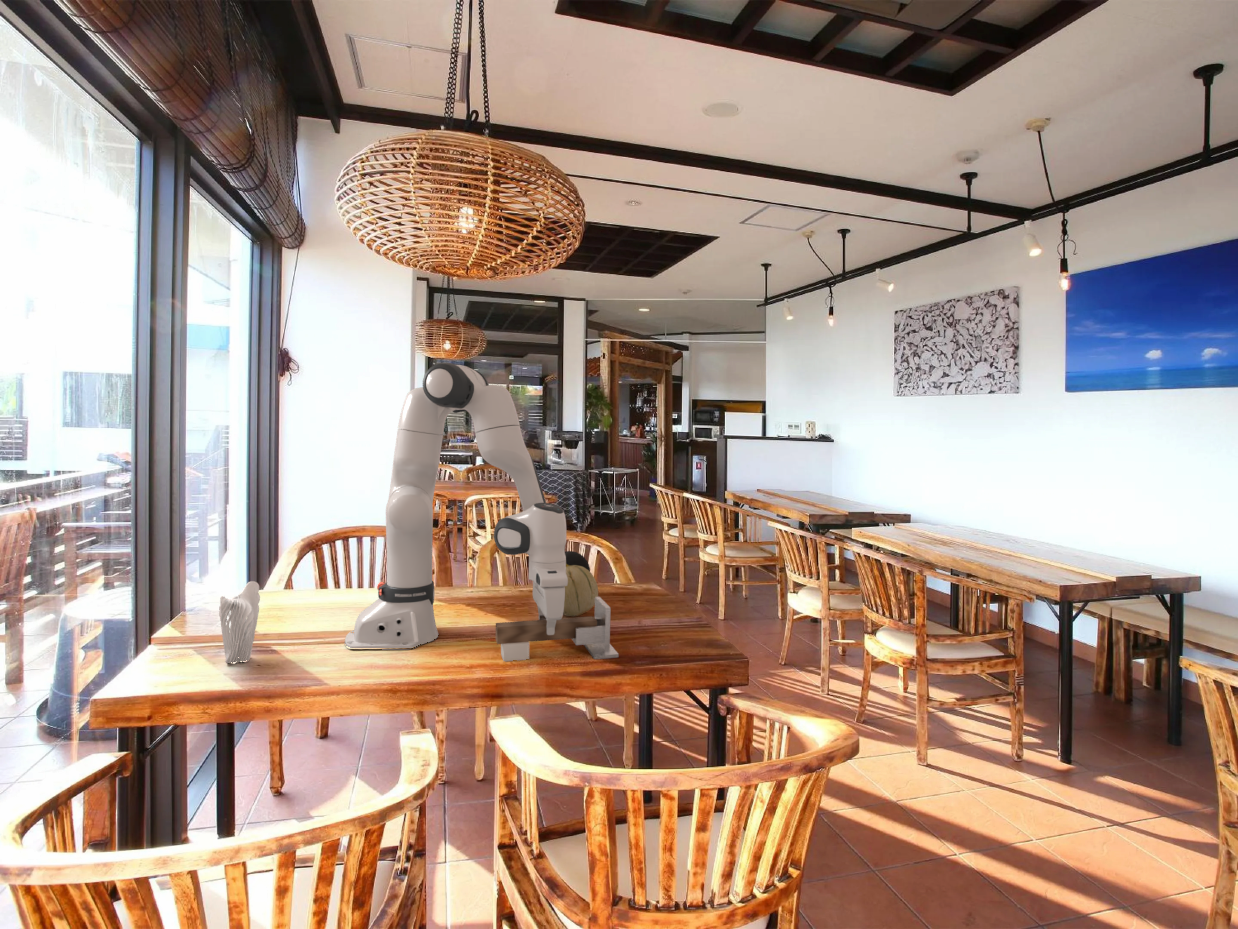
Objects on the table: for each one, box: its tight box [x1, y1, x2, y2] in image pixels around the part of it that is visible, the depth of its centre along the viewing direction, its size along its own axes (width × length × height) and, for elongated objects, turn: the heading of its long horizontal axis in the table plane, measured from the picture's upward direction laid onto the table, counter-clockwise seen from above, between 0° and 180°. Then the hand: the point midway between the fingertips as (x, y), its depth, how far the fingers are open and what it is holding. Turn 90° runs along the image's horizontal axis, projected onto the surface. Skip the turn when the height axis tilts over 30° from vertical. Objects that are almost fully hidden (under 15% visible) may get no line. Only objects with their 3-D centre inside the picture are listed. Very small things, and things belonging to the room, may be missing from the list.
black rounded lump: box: [565, 550, 591, 572], centre depth 213 cm, size 13×13×15 cm
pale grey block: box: [500, 642, 530, 662], centre depth 161 cm, size 6×5×4 cm
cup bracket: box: [571, 596, 619, 660], centre depth 166 cm, size 10×12×12 cm
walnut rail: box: [495, 616, 597, 645], centre depth 163 cm, size 24×4×4 cm, turn 107°
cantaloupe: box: [563, 564, 599, 617], centre depth 195 cm, size 15×15×15 cm
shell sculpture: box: [218, 580, 261, 664], centre depth 153 cm, size 8×8×18 cm
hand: (546, 628), depth 163 cm, fingers open, 8 cm apart
